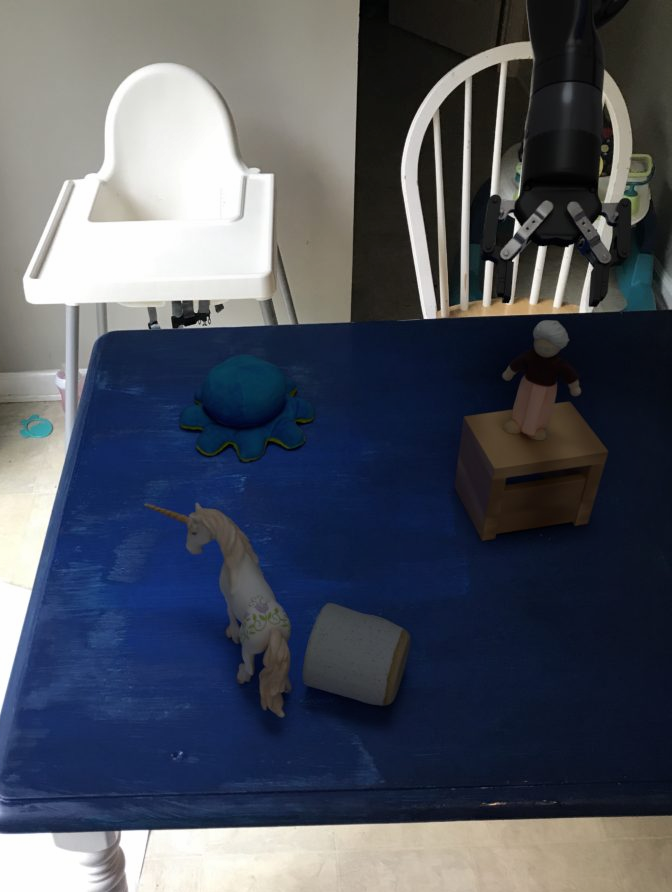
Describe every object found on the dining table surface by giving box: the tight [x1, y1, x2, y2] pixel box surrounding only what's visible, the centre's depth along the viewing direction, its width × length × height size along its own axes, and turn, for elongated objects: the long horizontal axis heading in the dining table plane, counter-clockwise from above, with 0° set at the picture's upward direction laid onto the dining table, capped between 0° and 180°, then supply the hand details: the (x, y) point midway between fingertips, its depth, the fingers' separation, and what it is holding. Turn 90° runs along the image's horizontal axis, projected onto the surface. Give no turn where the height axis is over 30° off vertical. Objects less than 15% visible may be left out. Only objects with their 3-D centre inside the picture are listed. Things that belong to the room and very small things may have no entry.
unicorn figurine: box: [143, 502, 293, 718], centre depth 75 cm, size 7×20×13 cm, turn 36°
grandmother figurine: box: [502, 319, 582, 440], centre depth 82 cm, size 8×4×13 cm, turn 72°
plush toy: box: [178, 353, 316, 463], centre depth 103 cm, size 17×17×8 cm
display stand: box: [454, 401, 609, 542], centre depth 89 cm, size 12×9×10 cm
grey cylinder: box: [302, 602, 411, 706], centre depth 74 cm, size 11×8×8 cm
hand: (549, 303), depth 83 cm, fingers open, 8 cm apart
